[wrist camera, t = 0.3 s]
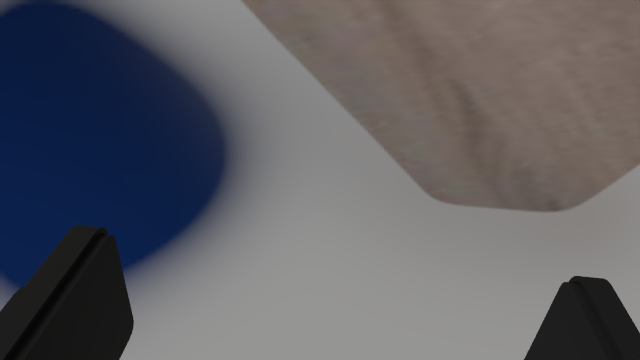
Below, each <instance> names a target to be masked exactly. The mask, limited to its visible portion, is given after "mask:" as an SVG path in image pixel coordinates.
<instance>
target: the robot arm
mask: <svg viewBox="0 0 640 360" xmlns="http://www.w3.org/2000/svg"><path fill="white" fill-rule="evenodd" d="M133 323H134V321H133V315H132V311H131V307H130V302H129V298H128V293H127V289H126V285H125V280H124V276H123V271H122V267H121V262H120V258H119V254H118V249H117V244H116V240H115V238H114V237H113V236H110V235H108V232H107V230H106V229H105V228H100V227H91V226H80V225H76V226H73V227H72V228H71V229H70V230H69V231H68V233H67V234H66V235H65V236H64V238H63V239H62V240H61V241H60V243H59V244H58V245H57V246H56V248H55V249H54V250H53V251H52V253H51V254H50V255H49V256H48V258H47V259H46V260H45V261H44V263H43V264H42V265H41V266H40V268H39V269H38V270H37V272H36V273H35V274H34V275H33V276H32V277H31V279H30V280H29V281H28V282H27V284H26V285H25V286H23V287H21V288H20V289H19V290H18V291H17V292H16V293H15V294H14V295H13V297H12V298H11V299H10V300H9V302H8V303H7V304H6V305H5V306H4V308H3V309H2V310H1V311H0V360H119V359H120V357H121V355H122V353H123V351H124V349H125V347H126V345H127V343H128V341H129V339H130V336H131V334H132V330H133ZM524 360H640V333H639V331H638V329H637V328H636V326H635V324H634V323H633V321H632V319H631V318H630V316H629V314H628V313H627V311H626V309H625V307H624V306H623V304H622V302H621V301H620V299H619V297H618V296H617V294H616V292H615V291H614V289H613V287H612V286H611V284H610V283H609V282H608V281H607V280H605V279H601V278H591V277H581V276H574V277H573V278H571V279H570V281H569V282H564V283H562V285H561V286H560V288H559V290H558V292H557V294H556V296H555V298H554V300H553V302H552V304H551V306H550V309H549V310H548V313H547V315H546V317H545V319H544V321H543V323H542V325H541V327H540V329H539V331H538V333H537V335H536V337H535V339H534V341H533V343H532V345H531V347H530V349H529V351H528V353H527V355H526V357H525V359H524Z"/></svg>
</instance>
